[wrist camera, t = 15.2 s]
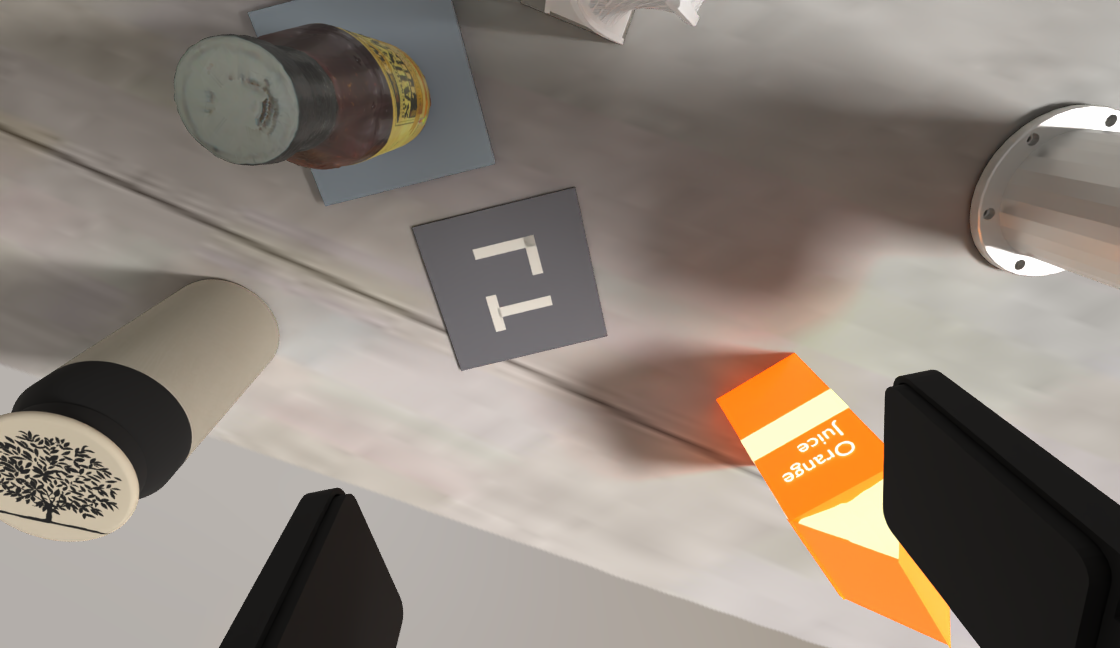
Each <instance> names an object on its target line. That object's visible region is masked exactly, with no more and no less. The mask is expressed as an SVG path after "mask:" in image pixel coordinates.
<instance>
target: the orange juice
mask: <svg viewBox="0 0 1120 648" xmlns="http://www.w3.org/2000/svg"><path fill="white" fill-rule="evenodd" d="M716 400H717V402H718V403H719V405H720V407H721V408H722V410H723V412H724V413H725V415H726V417H727V418H728V420H729V422H730V423H731V425H732V427H733V428H734V430H735V432H736V433H737V435H738V436H739V438H740V441H741V442H742V444H743V446H744V447H745V449H746V451H747V452H748V454H749V456H750V457H751V459H752V461H753V462H754V464H755V465H756V467H757V468H758V470H759V471H760V473H761V475H762V476H763V478H764V479H765V481H766V483H767V484H768V486H769V488H770V489H771V490H770V491H772V493H773V494H774V496H775V498H776V499H777V502H778V504H780V506H781V508H782V509H783V511H784V514H786V516H787V520H788V519H789V520H788V521H789V523H790V524H791V526H792V527H793V529H794V530H795V531H796V533H797V534H798V536H799V537H800V539H801V540H802V542H803V543H804V545H805V546H806V547H807V549H808V550H809V552H810V553H811V555H812V556H813V558H814V559H815V561H816V562H817V563H818V565H819V566H820V568H821V569H822V571H823V572H824V574H825V575H826V577H827V578H828V579H829V581H830V582H831V584H832V585H833V587H834V588H835V590H836V591H837V592H838V594H839V595H840V596H841V597H842V598H843V599H847V600H849V601H852V602H854V603H856V604H858V605H861V606H863V607H865V608H867V609H869V610H872V611H874V612H876V613H878V614H881V615H883V616H885V617H887V618H889V619H892V620H894V621H896V622H898V623H900V624H903V625H905V626H907V627H909V628H912V629H914V630H916V631H918V632H920V633H923V634H925V635H927V636H929V637H932V638H934V639H936V640H938V641H940V642H943V643H945V644H947V645H948V646H949V647H950V648H951V644H950V607H949V606H948V605H947V604H946V602H945V601H944V600H943V598H942V597H941V596H940V594H939V593H938V592H937V591H936V589H935V588H934V587H933V585H932V584H931V583H930V581H929V580H928V579H927V578H926V576H925V575H924V574H923V572H922V571H921V570H920V569H919V567H918V566H917V565H916V563H915V562H914V561H913V559H912V558H911V557H910V556H909V554H908V553H907V552H906V550H905V549H904V548H903V547H902V545H901V544H900V543H899V541H898V540H897V539H896V537H895V536H894V535H893V534H892V532H891V531H890V529H889V528H888V526H887V524H886V521H885V518H884V515H883V462H884V443H883V442H882V441H881V440H880V439H879V438H878V437H877V436H876V435H875V434H874V433H873V432H872V431H871V430H870V429H869V428H868V427H867V426H866V425H865V424H864V423H863V422H862V421H861V420H860V419H859V418H858V417H857V416H856V415H855V414H854V413H853V412H852V411H851V410H850V408H849V407H848V406H847V405H846V404H845V403H844V402H843V401H842V400H841V399H840V398H839V397H838V396H837V395H836V394H835V393H834V392H833V391H832V390H831V388H829V387H828V386H827V385H826V384H825V383H824V382H823V381H822V380H821V379H820V378H819V377H818V376H817V375H816V374H815V373H814V372H813V371H812V370H811V369H810V368H809V367H808V366H807V365H806V364H805V363H804V362H803V361H802V360H801V359H800V358H799V357H798V356H797V355H796V354H795V353H793V354H792V355H790V356H788V357H787V358H785V359H783V360H782V361H780V362H778V363H776V364H775V365H773V366H771V367H770V368H768V369H766V370H765V371H763V372H761V373H760V374H758V375H756V376H755V377H753V378H751V379H750V380H748V381H746V382H745V383H743V384H741V385H740V386H738V387H736V388H735V389H733V390H731V391H730V392H728V393H726V394H725V395H723V396H721V397H720V398H718V399H716Z"/></svg>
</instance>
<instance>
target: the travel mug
mask: <svg viewBox="0 0 1120 648" xmlns="http://www.w3.org/2000/svg"><path fill="white" fill-rule="evenodd" d="M278 344H279V330H278V325H277V322H276V320H275V318H274V315H273V314H272V312H271V310H270V309H269V308H268V306H267V305H266V304H265V303H264V302H263V301H262V300H261V299H260V298H259V297H258V296H257V295H255V294H254V293H253V292H251V291H250V290H248V289H246V288H244V287H242V286H240V285H238V284H235V283H232V282H228V281H224V280H213V279H212V280H201V281H197V282H194V283H191V284H189V285H187V286H185V287H184V288H182V289H180V290H179V291H177V292H176V293H174V294H173V295H171V296H170V297H168V298H166V299H165V300H163V301H162V302H160V303H159V304H157V305H156V306H154V307H153V308H151V309H149V310H148V311H146V312H145V313H143V314H142V315H140V316H139V317H137V318H135V319H134V320H132V321H131V322H129V323H128V324H126V325H125V326H123V327H122V328H120V329H118V330H117V331H115V332H114V333H112V334H111V335H109V336H108V337H106V338H104V339H103V340H101V341H100V342H98V343H97V344H95V345H94V346H92V347H91V348H89V349H87V350H86V351H84V352H83V353H81V354H80V355H78V356H77V357H75V358H73V359H72V360H70V361H69V362H67V363H66V364H64V365H63V366H61V367H60V368H58V369H56V370H55V371H53V372H52V373H50V374H49V375H47V376H46V377H44V378H42V379H41V380H39V381H38V382H36V383H35V384H33V385H32V386H30V387H29V388H27V389H26V390H25V391H24V392H23V393H22V394H21V395H20V396H19V398H18V399H17V401H16V402H15V405H14V407H13V410H12V412H11V413H8V414H4V415H0V520H1V521H3V522H4V523H6V524H8V525H9V526H11V527H13V528H16V529H18V530H20V531H22V532H25V533H27V534H30V535H34V536H37V537H40V538H44V539H50V540H55V541H68V542H70V541H71V542H72V541H73V542H74V541H86V540H91V539H96V538H100V537H103V536H105V535H108V534H110V533H112V532H114V531H115V530H117V529H119V528H120V527H121V526H122V525H124V524H125V523H126V522H127V521H128V520H129V518H130V517H131V516H132V514H133V513H134V511H135V509H136V506H137V503H138V499H141V498H144V497H146V496H149V495H151V494H153V493H154V492H156V491H157V490H159V489H160V488H162V487H163V486H164V485H165V484H166V483H167V482H168V480H169V479H170V478H171V477H172V476H173V475H174V474H175V472H176V471H177V470H178V469H179V468H180V466H181V465H182V464H183V463H184V462H185V461H186V460H187V458H188V457H189V456H190V455H191V454H192V452H193V451H194V450H195V449H196V448H197V447H198V445H199V444H200V443H201V442H202V441H203V439H204V438H205V437H206V436H207V435H208V434H209V433H210V431H211V430H212V429H213V428H214V427H215V426H216V424H217V423H218V422H219V421H220V420H221V419H222V417H223V416H224V415H225V414H226V413H227V412H228V410H229V409H230V408H231V407H232V406H233V404H234V403H235V402H236V401H237V400H238V399H239V397H240V396H241V395H242V394H243V393H244V392H245V390H246V389H247V388H248V387H249V386H250V385H251V383H252V382H253V381H254V380H255V379H256V378H257V376H258V375H259V374H260V373H261V372H262V371H263V369H264V368H265V367H266V366H267V365H268V364H269V362H270V361H271V360H272V359H273V357H274V356H275V354H276V351H277V349H278Z"/></svg>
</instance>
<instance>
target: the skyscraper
mask: <svg viewBox="0 0 1120 648" xmlns="http://www.w3.org/2000/svg"><path fill="white" fill-rule="evenodd" d="M703 1H704V0H521V3H522V4H524V5H527V6H529V7H531V8H534V9H536V10H539V11H541V12H544V13H546V14H549V15H551V16H553V17H556V18H558V19H561V20H563V21H566V22H568V23H571V24H573V25H575V26H578V27H580V28H583V29H585V30H588V31H590V32H593V33H595V34H597V35H600V36H602V37H604V38H606V39H608V40H611V41H613V42H615V43H617V44H622V45H623V42H624V39H625V37H626V34H627V31H628V28H629V25H630V23H631V20H632V17H633V14H634V12H635V9H639V8H651V9H660V10H665V11H669V12H673V13H676V14H677V15H678V16H679V17H680V18H681V19H682V20H683V21H684V22H685V23H687V24H690V25H692V26H694V27H695V26H696V24H697V22H698V20H699V18H700V17H699V16H698V14H697V11H698V10H699V8H700V6H701V4H702V3H703Z"/></svg>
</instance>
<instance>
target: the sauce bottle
mask: <svg viewBox="0 0 1120 648" xmlns="http://www.w3.org/2000/svg"><path fill="white" fill-rule="evenodd" d="M174 89H175V94H174V100H175V102H176V105H177V110H178V113H179V115H180V117H181V119H182V121H183V123H184V125H185V127H186V128H187V130H188V131H189V133H190V134H191V135H192V136H193V137H194V138H195V139H196V140H197V141H198V142H199V143H200V144H201V145H202V146H204V147H205V148H206V149H207V150H209V151H210V152H211V153H212V154H213V155H215V156H217V157H219V158H221V159H223V160H225V161H228V162H231V163H234V164H240V165H252V166H253V165H262V164H263V165H264V164H273V163H278V162H281V161H284V160H287V161H289V162H293V163H294V164H297V165H300V166H303V167H307V168H312V169H320V170H327V169H334V168H340V167H342V166H349V165H354V164H358V163H361V162H364V161H366V160H369V159H371V158H373V157H376V156H378V155H381V154H384V153H386V152H389V151H391V150H394V149H396V148H399V147H402V146H404V145H406V144H407V143H409V142H410V141H412V140H413V139H414V138H415V137H416V136H417V135H418V134H420V132H421V130H422V129H423V128H424V126H425V124H426V121H427V118H428V114H429V109H430V106H431V98H430V93H429V88H428V86H427V83H426V80H425V76H424V75H423V74H422V72H421V70H420V68H419V66H418V65H417V64H416V63H415V62H414V61H413V60H412V59H411V58H410V57H409V56H408V55H407V54H406V53H405V52H404V51H402V50H401V49H399V48H397V47H396V46H393V45H391V44H388V43H385V42H382V41H379V40H376V39H373V38H370V37H367V36H364V35H362V34H357V33H354V32H351V31H348V30H345V29H342V28H339V27H335V26H332V25H328V24H323V23H312V24H306V25H302V26H298V27H294V28H290V29H286V30H282V31H278V32H274V33H270V34H266V35H262V36H259V37H257V38H254V37H250V36H246V35H234V34H226V35H218V36H212V37H208V38H205V39H202V40H201V41H199V42H198V43H197V44H195V45H193V46H191V47H190V48H189V49H188V50H187V51H186V53H185V54H184V55H183V56H182V58H181V59H180V61H179V63H178V66H177V69H176V73H175V77H174Z"/></svg>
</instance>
